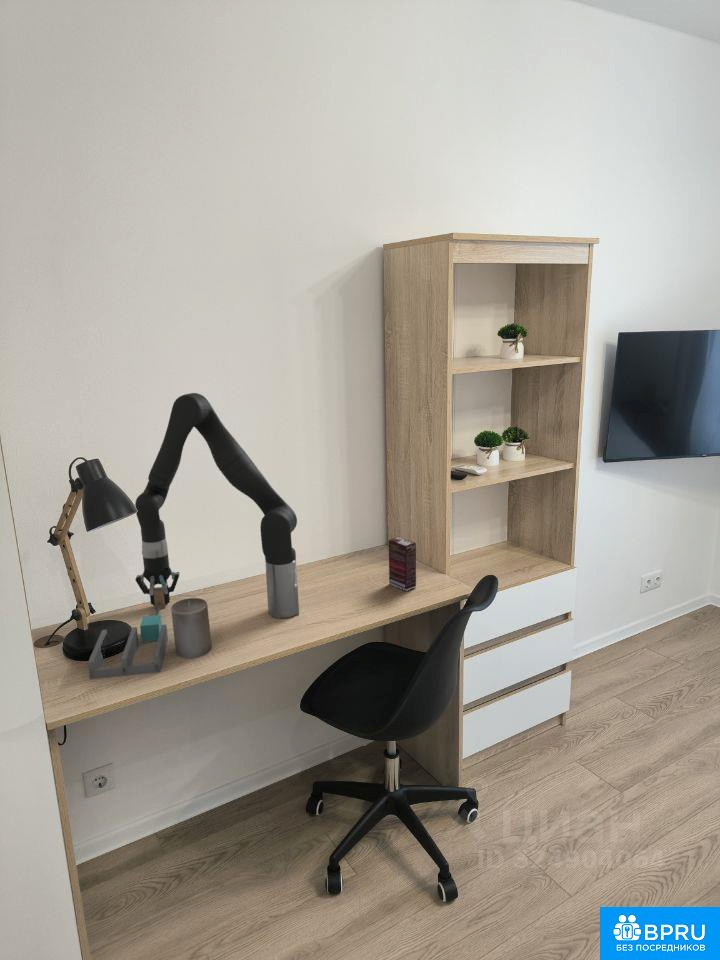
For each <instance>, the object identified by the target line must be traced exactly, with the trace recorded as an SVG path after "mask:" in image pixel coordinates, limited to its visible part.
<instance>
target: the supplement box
mask: <svg viewBox="0 0 720 960" xmlns="http://www.w3.org/2000/svg"><path fill="white" fill-rule="evenodd" d="M388 570H389V571H388V573H389V574H388V575H389V577H388V579H389V585H390V584H391V585H390V586H392V585H393V587H395V588H397V587H398V588H397V589H399V588H400V590H402V589H403V590H402V591H404V590H405V591H404V592H408V590H409V591H411V590H410V589H412V588H414V589H416V588H417V543H416V542H414V541H411V540H408V539H406V538H403V537H400V536H397V537H394V538H390V539H388ZM415 587H416V588H415ZM412 590H413V589H412Z"/></svg>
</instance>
